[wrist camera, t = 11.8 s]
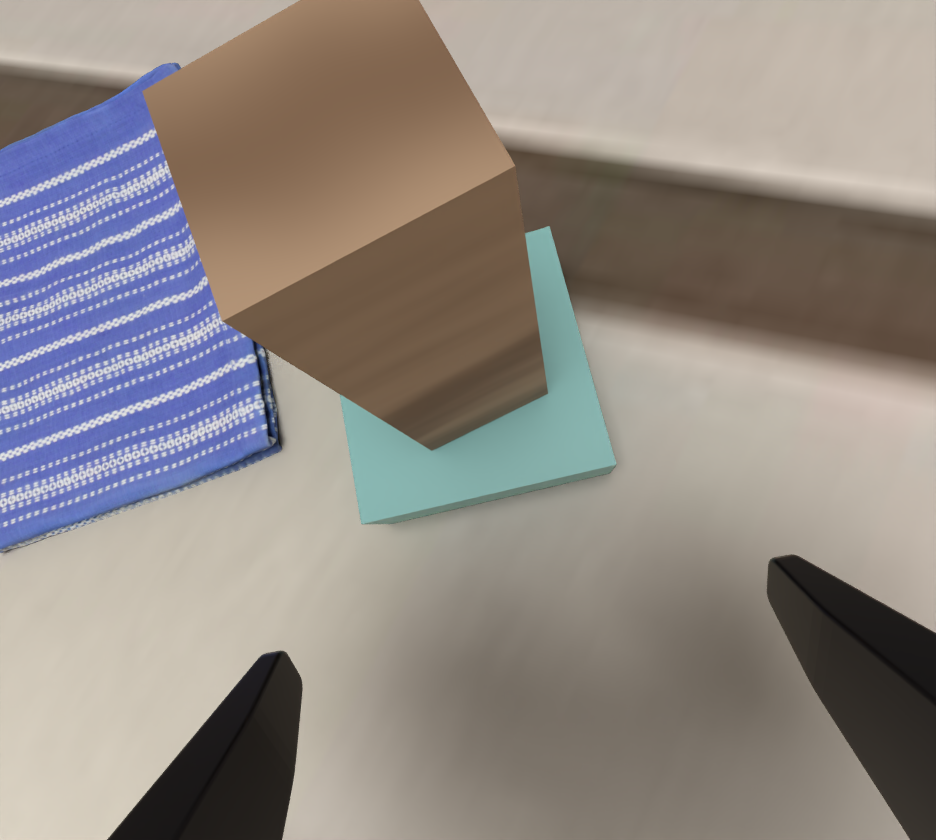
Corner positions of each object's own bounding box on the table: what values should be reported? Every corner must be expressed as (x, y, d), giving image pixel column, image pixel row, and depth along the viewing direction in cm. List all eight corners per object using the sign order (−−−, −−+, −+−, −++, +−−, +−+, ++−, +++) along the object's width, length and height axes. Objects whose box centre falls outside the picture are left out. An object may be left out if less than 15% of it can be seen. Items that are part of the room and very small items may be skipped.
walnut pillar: (548, 393, 20) (515, 165, 8) (431, 450, 21) (222, 321, 8) (492, 287, 22) (388, -51, 9) (384, 343, 22) (141, 90, 10)
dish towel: (215, 81, 32) (182, 40, 29) (300, 454, 26) (269, 446, 24) (-21, 189, 34) (-73, 160, 31) (12, 555, 28) (-48, 559, 26)
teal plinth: (609, 474, 23) (616, 464, 19) (394, 523, 25) (361, 524, 21) (552, 270, 26) (549, 226, 22) (359, 327, 27) (323, 294, 23)
